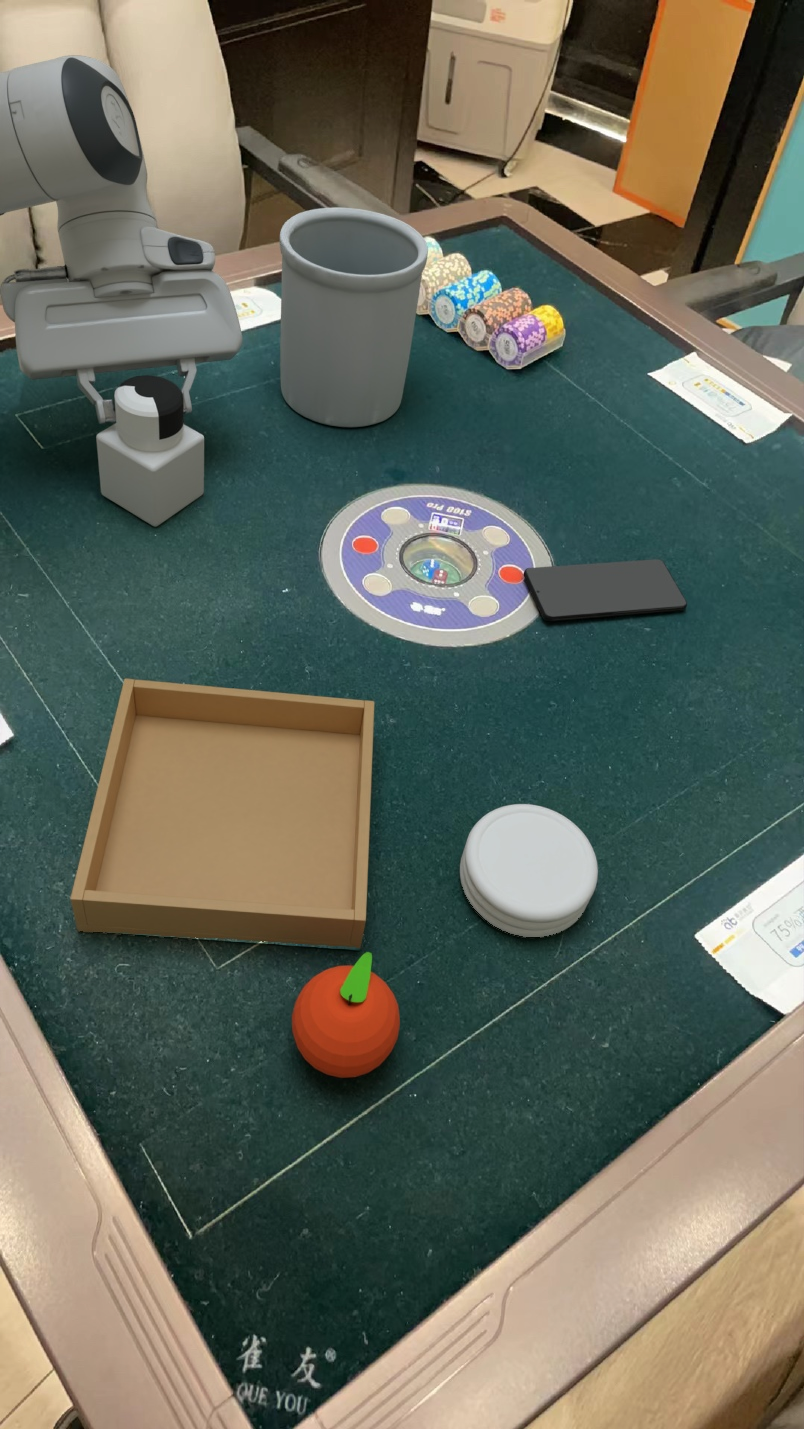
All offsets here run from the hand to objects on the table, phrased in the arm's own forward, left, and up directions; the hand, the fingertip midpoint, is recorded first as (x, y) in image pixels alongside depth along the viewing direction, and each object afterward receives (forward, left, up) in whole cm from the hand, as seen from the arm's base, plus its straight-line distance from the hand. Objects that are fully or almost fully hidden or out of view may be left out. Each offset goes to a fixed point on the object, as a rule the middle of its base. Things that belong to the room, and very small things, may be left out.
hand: (146, 417), depth 97 cm
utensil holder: (+18, +20, -8) cm, 28 cm away
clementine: (+22, -55, -8) cm, 60 cm away
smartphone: (+45, -9, -8) cm, 46 cm away
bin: (+13, -39, -8) cm, 42 cm away
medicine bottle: (0, -1, -8) cm, 8 cm away
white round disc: (+35, -42, -8) cm, 55 cm away
